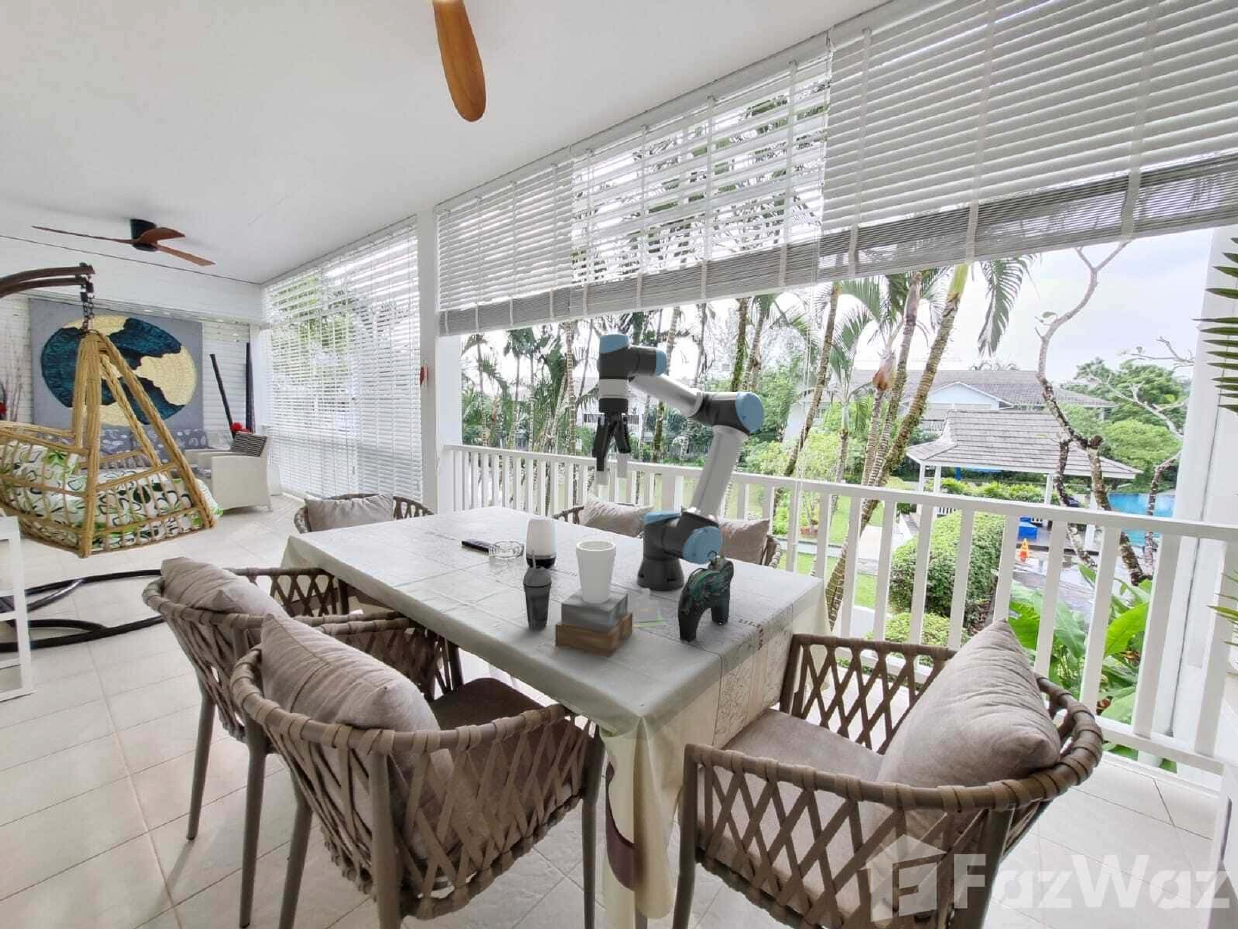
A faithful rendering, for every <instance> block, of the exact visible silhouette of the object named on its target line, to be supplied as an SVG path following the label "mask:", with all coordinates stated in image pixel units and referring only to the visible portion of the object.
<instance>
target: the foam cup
mask: <svg viewBox="0 0 1238 929" xmlns="http://www.w3.org/2000/svg"><path fill="white" fill-rule="evenodd" d="M616 556H617V545H616V542H615V543H614V542H612V541H608V540H603V539H601V540H600V539H590V540H583V541H579V542H577V544H575V557H576V559H577V560H576V561H577V567H578V568H577V569H578V574H579V582H580V589H581V592H582V598H583V600H584V601H585V602H588V603H603V602H606V601H607V600H608V599H609V594H610V590H611V587H612V586H611V585H612V580H613V572H614V566H615V559H616Z"/></svg>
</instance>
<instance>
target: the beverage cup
mask: <svg viewBox="0 0 1238 929" xmlns="http://www.w3.org/2000/svg"><path fill="white" fill-rule="evenodd" d="M531 556H532V565H533V566H532V567H531V568H529V569H527V571H526V572H525V574H524V577H523V580H522V585H523V590H524V596H525V604H526V605H525V606H526V607H525V608H526V617H527V623H528V624H527V625H528V629H529V628H530V629H529V630H531V631H542V630H544V628H545V627H546V628H547V624H548V617H549V616H548V615H549V606H550V605H549V604H550V592H551V588H552V584H553V581H552V575H551V574H550V572H549V570H548V569H546V568H545V567H543V566H540V565H536V558H535V551H534V549H531ZM546 628H545V629H546Z"/></svg>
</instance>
